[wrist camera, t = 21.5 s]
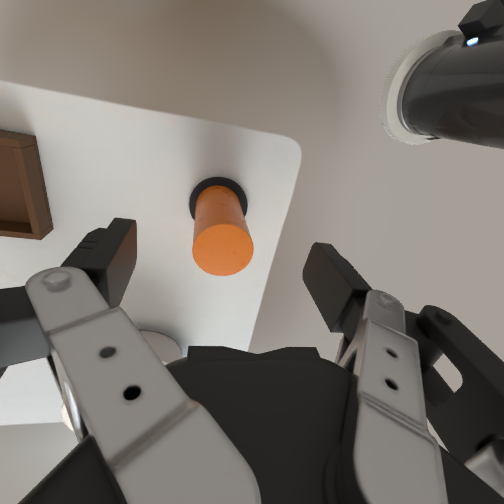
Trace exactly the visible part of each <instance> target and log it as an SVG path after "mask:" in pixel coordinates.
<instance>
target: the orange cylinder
mask: <svg viewBox="0 0 504 504" xmlns="http://www.w3.org/2000/svg"><path fill="white" fill-rule="evenodd" d="M252 255H253V242H252V239H251V236H250V233H249V230H248V227H247V224H246V221H245V218H244V215H243V212H242V209H241V206H240V202H239V199H238V197H237V195H236V194H235V193H234V192H233V191H232V190H231V189H229V188H227V187H224V186H218V185H217V186H211V187H208V188H206V189H205V190H203V191H202V192H201V193H200V195H199V196H198V199H197V202H196V212H195V224H194V237H193V257H194V260H195V262H196V263H197V265H198V266H199V267H200V268H201V269H202V270H204V271H205V272H207V273H209V274H212V275H217V276H227V275H232V274H235V273H237V272H239V271H241V270H242V269H243V268H245V267H246V266H247V264H248V263H249V262H250V260H251V258H252Z"/></svg>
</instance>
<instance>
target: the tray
mask: <svg viewBox="0 0 504 504" xmlns="http://www.w3.org/2000/svg"><path fill="white" fill-rule="evenodd" d="M52 230H53V225H52V220H51V214H50V209H49V204H48V199H47V194H46V188H45V183H44V178H43V173H42V168H41V162H40V157H39V152H38V147H37V142H36V137H35V136H32V135H26V134H20V133H15V132H9V131H4V130H0V236H6V237H16V238H26V239H37V240H42V239H43V238H44V237H45V236H46V235H47V234H49V233H50V232H51V231H52Z"/></svg>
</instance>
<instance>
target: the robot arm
mask: <svg viewBox="0 0 504 504" xmlns="http://www.w3.org/2000/svg"><path fill="white" fill-rule="evenodd" d="M458 27H459V28H460V30H461V31H462V33H463V34H459V35H454V36H450V37H448V38H447V40H446V41H445V42H444V43H443V44H442V45H441V46H438V47H435V48H433V49H431V50H429V51H428V52H426V53H425V54H424V55H422V56H421V57H420V58H419V59H418V60H417V61H416V62H415V63H414V64H413V66H412V67H411V68H410V70H409V71H408V73H407V74H406V76H405V78H404V80H403V82H402V85H401V87H400V90H399V94H398V99H397V115H398V119H399V121H400V123H401V125H402V126H403V128H404V129H405V130H407V131H408V132H410V133H413V134H417V135H426V136H433V137H431V138H425V139H427V140H434V139H440V138H444V139H450V140H455V141H461V142H467V143H472V144H477V145H483V146H489V147H494V148H500V149H504V0H486V1H483V2H480V3H477V4H474V5H473V6H472V8H471V9H470V10H469V12H468V13H467V14H466V15H465V17H464V18H463V19H462V21H461V22H460V23H459V25H458ZM136 259H137V224H136V220H132V219H123V218H114V219H113V221H112V222H111V223H110V225H109V226H108V228H107V229H106V228H98V229H96V230H94V231H92V232H89V233H88V234H87V235H86V236H85V237H84V239H83V240H82V242H80V243H79V244H78V246H77V248H75V249H74V250H73V252H72V253H71V254H70V255H69V256H68V258H67V259H66V260H65V261H64V262H63V263H62V265H61V266H60V267H55V268H50V269H46V270H43V271H41V272H38V273H36V274H35V275H33V276H32V277H30V278H29V279H28V281H27V282H26V285H25V286H21V287H13V288H5V289H0V378H1V377H2V375H3V374H4V372H5V371H6V369H7V367H8V366H10V365H14V364H18V363H23V362H27V361H31V360H36V359H40V358H44V357H46V360H47V363H48V365H49V367H50V370H51V372H52V375H53V377H54V380H55V382H56V385H57V387H58V389H59V392H60V394H61V397H62V399H63V402H64V404H65V407H66V410H67V413H68V416H69V419H70V421H71V424H72V427H73V430H74V432H75V435H76V437H77V440H78V442H79V444H78V445H77V446H76V447H75V448H74V449H73V450H72V451H71V452H70V453H69V454H68V455H67V456H66V457H65V458H64V459H63V460H62V461H61V462H60V463H59V464H58V465H57V466H56V467H55V468H54V469H53V470H52V471H51V472H50V473H49V474H48V475H47V476H46V477H45V478H43V479H42V481H40V483H38V485H37V486H35V487H34V488H33V489H32V490H31V491H30V492H29V493H28V494H27V495H26V496H25V497H24V498H23V499H22V500H21V501H20V502H19V503H18V504H504V362H503V361H502V360H501V359H500V358H499V357H498V356H497V355H496V354H494V353H493V352H492V351H491V350H490V349H489V348H488V347H487V346H486V345H485V344H484V343H482V342H481V340H479V339H478V338H477V337H476V336H475V335H474V334H473V333H472V332H471V331H470V330H469V329H468V328H467V327H466V326H464V325H463V324H462V323H461V322H460V321H459V320H458V319H457V318H456V317H455V316H453V315H452V314H450V313H449V312H447V311H445V310H443V309H441V308H438V307H436V306H431V305H426V306H424V307H423V309H422V310H421V312H420V313H419V314H416V313H412V312H409V311H406V310H404V307H403V305H402V304H401V303H400V302H399V301H398V300H397V299H396V298H395V297H393V296H391V295H390V294H388V293H385V292H383V291H379V290H373V289H372V288H371V287H370V286H369V285H368V284H367V282H366V281H365V280H364V279H363V278H362V277H361V275H360V274H358V272H357V271H356V270H355V269H354V267H353V266H352V265H351V264H350V263H349V262H348V261H347V260H346V259H344V258H343V257H342V256H341V255H340V254H339V253H338V252H337V250H336V249H335V248H334V247H333V246H332V245H331V244H326V243H318V242H315V243H314V244H313V245H312V247H311V250H310V253H309V255H308V258H307V261H306V263H305V266H304V269H303V281H304V283H305V285H306V287H307V289H308V290H309V292H310V294H311V296H312V298H313V300H314V302H315V304H316V305H317V307H318V309H319V311H320V313H321V315H322V317H323V318H324V321H325V322H326V324H327V326H328V328H329V330H330V332H337V333H339V332H340V333H344V335H343V337H342V339H341V341H340V345H339V349H338V352H337V356H336V360H335V363H333V362H331V361H329V360H326V359H323V358H320V356H319V353H318V351H317V349H316V347H285V348H281V349H277V350H273V351H269V352H265V353H261V354H254V353H249V352H245V351H241V350H237V349H232V348H228V347H224V346H188V354H187V357H185V358H181V359H178V360H175V361H173V362H170V363H168V364H166V365H164V364H163V363H162V361H161V360H160V359H159V357H158V356H157V354H156V353H155V352H154V350H153V349H152V348H151V346H150V345H149V344H148V342H147V341H146V340H145V338H144V337H143V336H142V334H141V333H140V332H139V330H138V329H137V328H136V326H135V325H134V324H133V322H132V321H131V320H130V318H129V317H128V316H127V314H126V313H125V312H124V310H123V309H122V308H121V307H119V305H120V302H121V300H122V297H123V295H124V293H125V290H126V288H127V285H128V283H129V280H130V278H131V275H132V273H133V270H134V268H135V265H136ZM443 353H444V354H445V355H446V356H447V357H448V359H450V361H451V362H452V363H453V364H454V366H455V367H456V368H457V369H458V370H459V371H460V373H461V375H462V379H463V383H462V386H461V387H460V388H459V389H458V390H457V391H456V392H455V393H454V392H453V391H452V390H451V388H450V387H449V386H448V385H447V383H446V382H445V381H444V379H443V378H442V377H441V376H440V374H439V373H438V372H437V371H436V369H435V368H434V367H433V365H434V363H435V362H436V361H437V360H438V359H439V358H440V356H442V354H443ZM426 417H427V418H428V420H429V422H430V423H431V425H432V426H433V428H434V430H435V431H436V432H437V434H438V436H439V437H440V439H441V440H442V442H443V443H444V445H445V447H446V448H447V450H448V451H449V452H448V451H446V450H445V449H444V448H443V447H441V446H440V445H439V444H438V442H437V440H436V439H435V438H434V437H433V436H432V435H431V434H430V433H429V431H428V427H427V419H426Z"/></svg>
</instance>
